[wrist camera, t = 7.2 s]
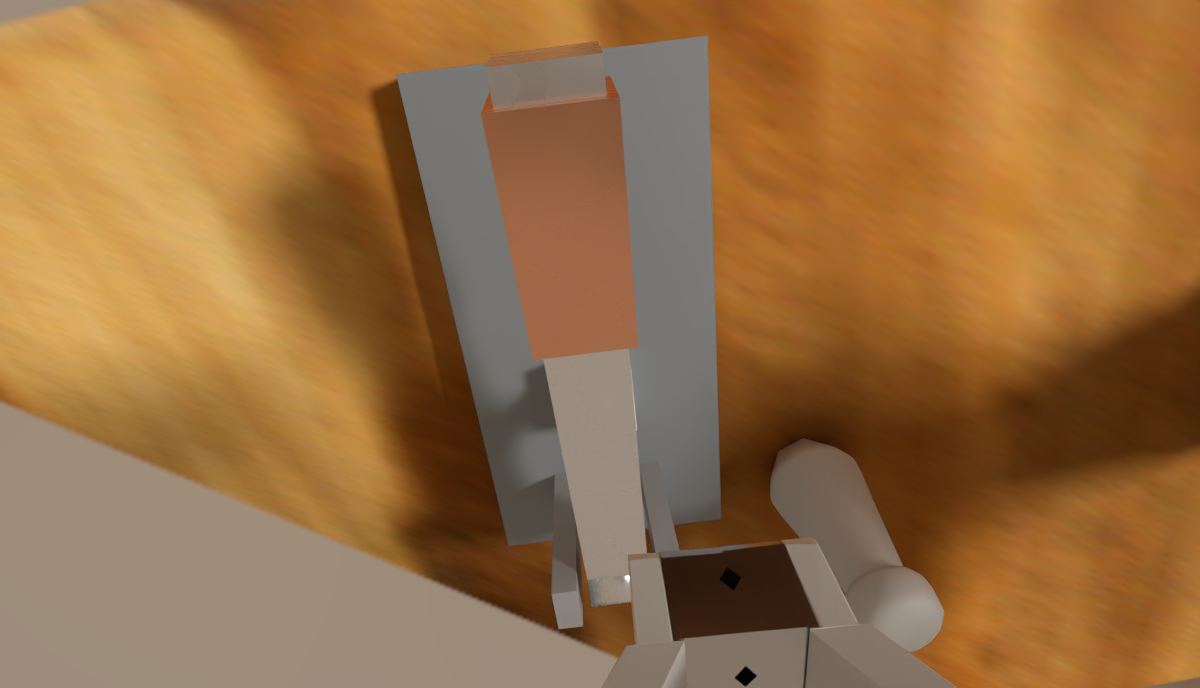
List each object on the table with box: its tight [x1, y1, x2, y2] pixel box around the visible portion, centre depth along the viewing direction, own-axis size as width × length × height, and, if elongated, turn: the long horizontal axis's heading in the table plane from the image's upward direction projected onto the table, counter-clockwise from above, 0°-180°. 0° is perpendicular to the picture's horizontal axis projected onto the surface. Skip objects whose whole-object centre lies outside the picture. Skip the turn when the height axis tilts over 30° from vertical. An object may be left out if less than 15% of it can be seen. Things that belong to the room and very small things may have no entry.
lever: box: [481, 41, 647, 607], centre depth 23 cm, size 26×4×4 cm, turn 6°
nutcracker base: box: [396, 36, 721, 629], centre depth 28 cm, size 28×14×11 cm, turn 6°
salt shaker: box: [770, 438, 944, 653], centre depth 32 cm, size 6×6×13 cm
